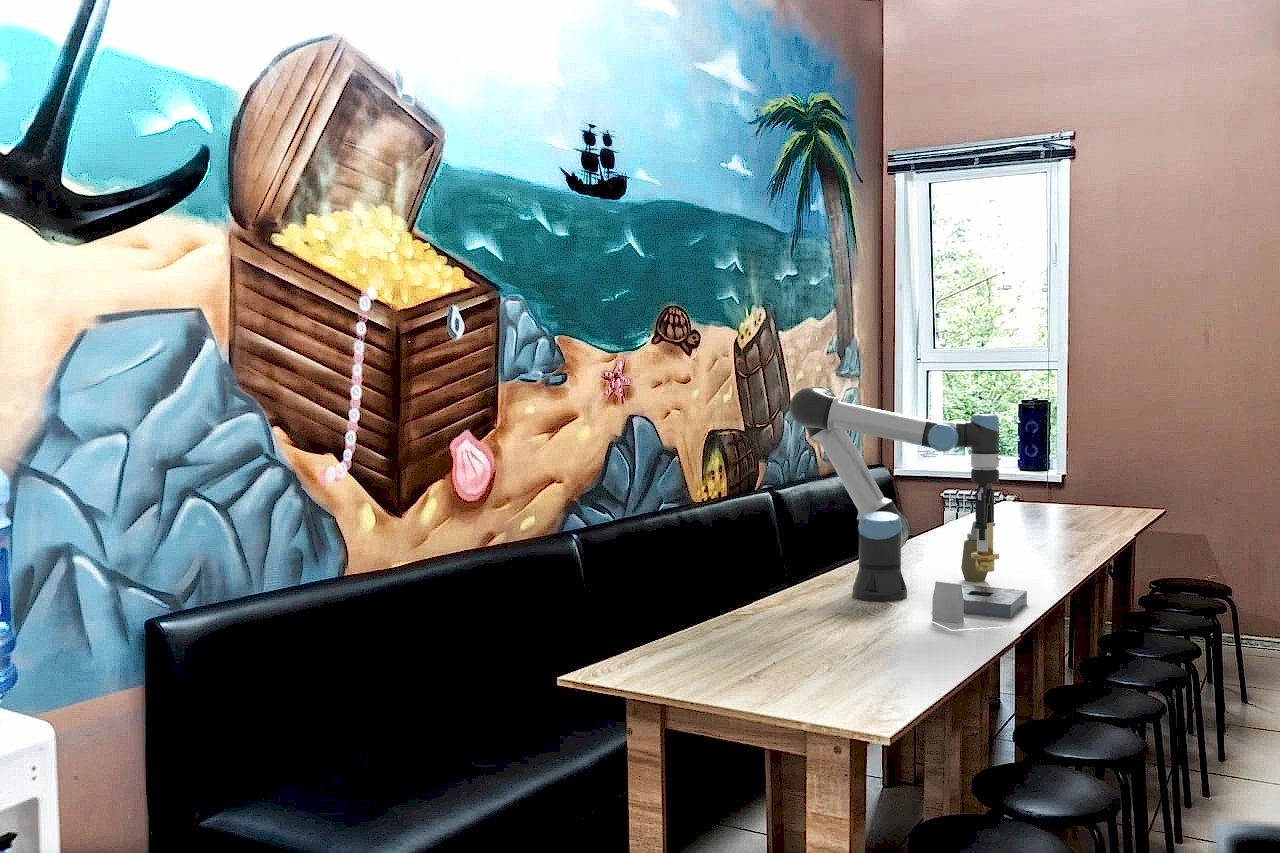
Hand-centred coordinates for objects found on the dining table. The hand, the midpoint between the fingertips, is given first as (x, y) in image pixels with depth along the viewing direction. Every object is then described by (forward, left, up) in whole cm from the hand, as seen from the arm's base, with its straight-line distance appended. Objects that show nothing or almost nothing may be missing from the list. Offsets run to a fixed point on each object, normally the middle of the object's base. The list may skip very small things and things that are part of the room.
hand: (984, 549), depth 309 cm
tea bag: (-27, -27, -13) cm, 40 cm away
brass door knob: (0, 0, -6) cm, 6 cm away
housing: (-11, -16, -13) cm, 23 cm away
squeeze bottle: (+8, +18, -13) cm, 24 cm away
